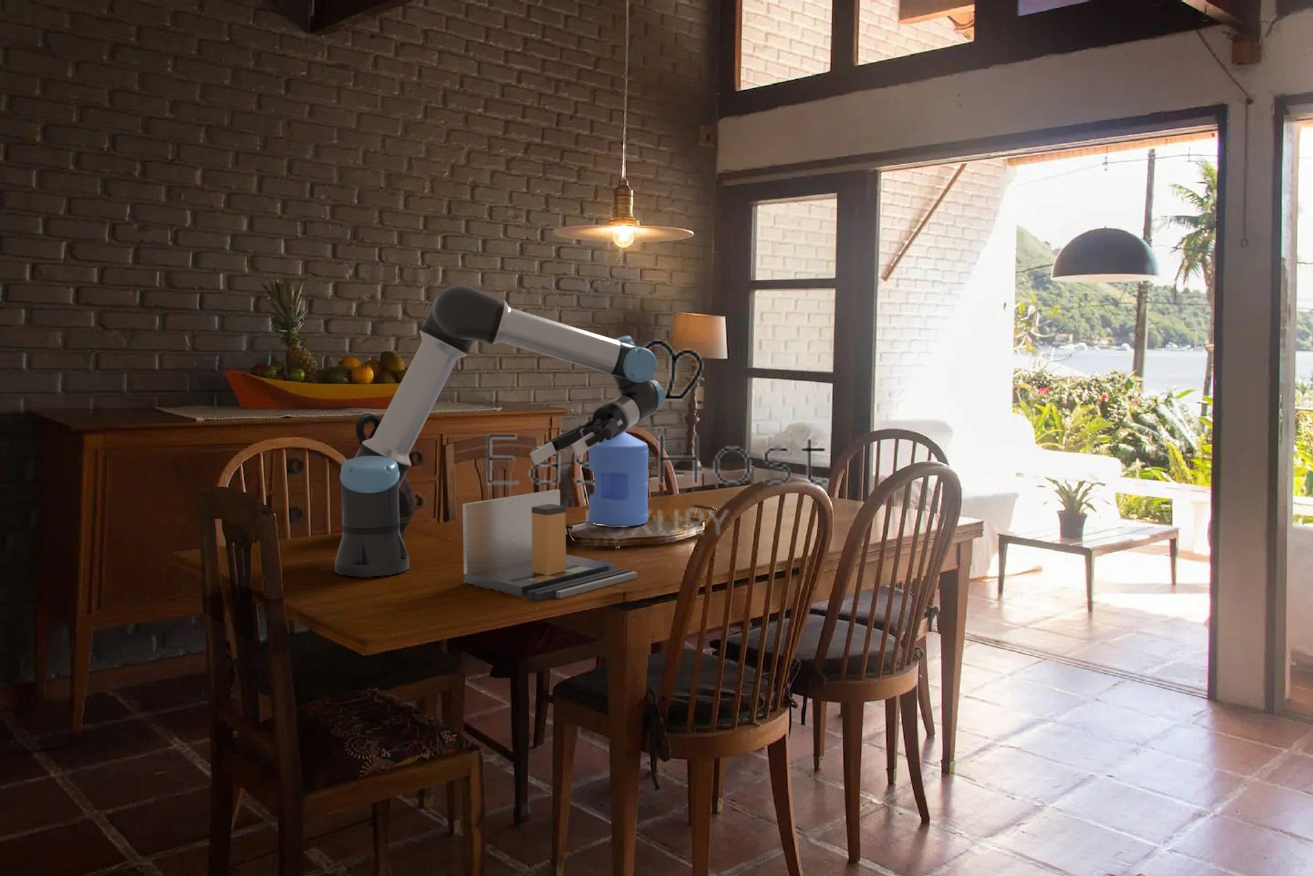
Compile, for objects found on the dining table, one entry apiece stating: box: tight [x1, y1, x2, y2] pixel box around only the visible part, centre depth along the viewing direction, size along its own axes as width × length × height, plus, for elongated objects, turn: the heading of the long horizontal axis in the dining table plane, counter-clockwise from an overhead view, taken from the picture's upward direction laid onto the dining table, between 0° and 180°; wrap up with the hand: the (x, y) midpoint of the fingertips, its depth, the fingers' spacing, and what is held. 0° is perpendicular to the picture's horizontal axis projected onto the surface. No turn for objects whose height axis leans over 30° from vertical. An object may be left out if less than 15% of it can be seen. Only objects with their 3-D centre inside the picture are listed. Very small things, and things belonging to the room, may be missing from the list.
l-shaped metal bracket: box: [462, 488, 616, 598], centre depth 216 cm, size 26×17×16 cm, turn 140°
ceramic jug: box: [355, 413, 416, 537], centre depth 259 cm, size 17×15×30 cm
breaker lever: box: [532, 504, 567, 575], centre depth 212 cm, size 5×4×13 cm
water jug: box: [588, 430, 649, 527], centre depth 277 cm, size 16×16×28 cm
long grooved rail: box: [526, 567, 638, 602], centre depth 208 cm, size 26×5×1 cm, turn 140°
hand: (553, 455), depth 226 cm, fingers open, 13 cm apart
